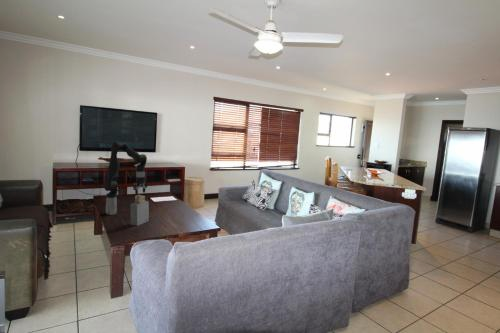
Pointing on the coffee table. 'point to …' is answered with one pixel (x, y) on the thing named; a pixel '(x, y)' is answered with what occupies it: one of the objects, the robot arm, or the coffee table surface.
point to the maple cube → (139, 199)
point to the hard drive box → (139, 213)
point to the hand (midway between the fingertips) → (140, 193)
